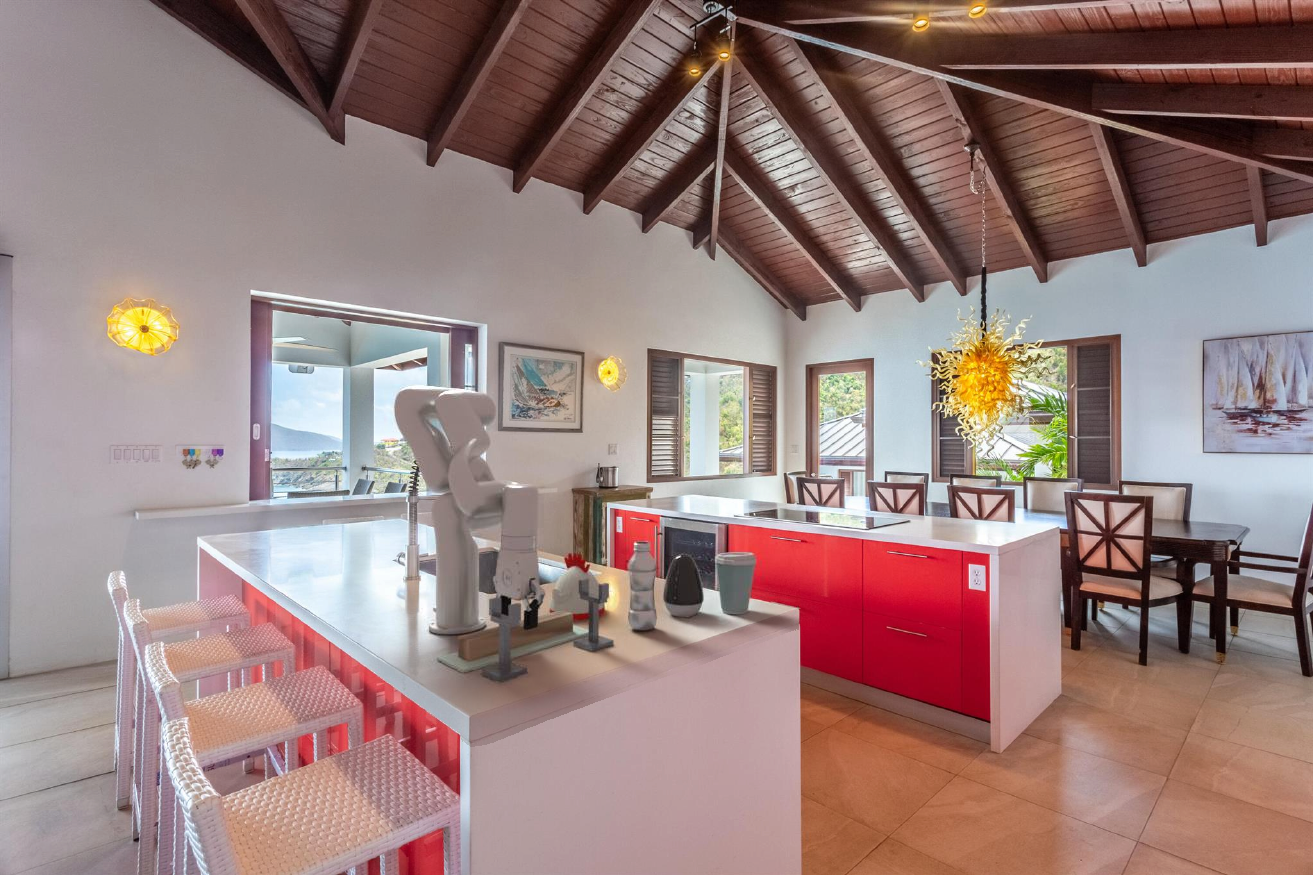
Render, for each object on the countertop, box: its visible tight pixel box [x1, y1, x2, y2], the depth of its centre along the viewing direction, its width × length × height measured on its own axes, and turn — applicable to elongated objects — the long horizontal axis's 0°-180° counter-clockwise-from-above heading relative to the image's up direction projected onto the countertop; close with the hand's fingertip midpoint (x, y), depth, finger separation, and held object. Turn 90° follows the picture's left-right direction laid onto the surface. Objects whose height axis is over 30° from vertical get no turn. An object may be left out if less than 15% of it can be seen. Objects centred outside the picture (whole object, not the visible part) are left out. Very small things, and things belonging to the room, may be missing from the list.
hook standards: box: [481, 578, 615, 684], centre depth 122 cm, size 7×28×14 cm, turn 137°
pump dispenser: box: [662, 553, 705, 618], centre depth 153 cm, size 10×10×15 cm
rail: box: [457, 610, 574, 662], centre depth 129 cm, size 4×26×4 cm, turn 138°
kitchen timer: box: [549, 552, 606, 621], centre depth 155 cm, size 14×14×15 cm
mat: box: [436, 624, 589, 674], centre depth 129 cm, size 10×32×1 cm, turn 137°
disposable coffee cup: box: [714, 551, 757, 615], centre depth 156 cm, size 11×11×15 cm
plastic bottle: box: [627, 540, 658, 631], centre depth 141 cm, size 6×7×20 cm
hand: (516, 622), depth 130 cm, fingers open, 9 cm apart
